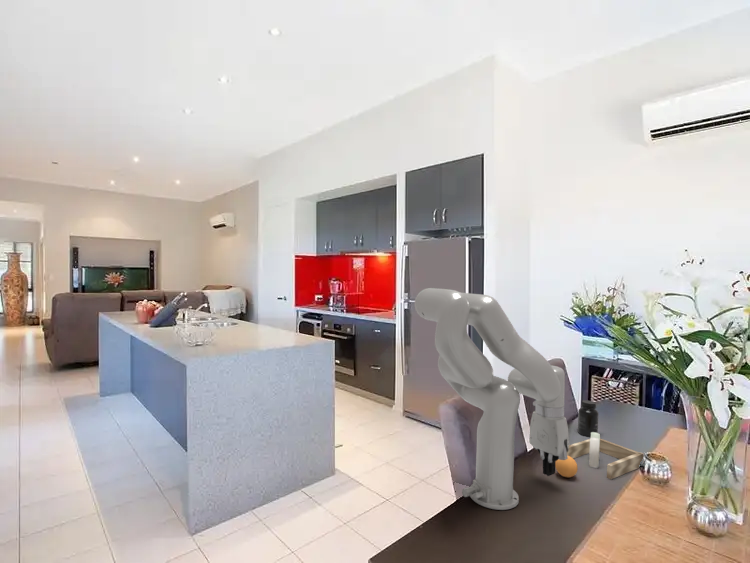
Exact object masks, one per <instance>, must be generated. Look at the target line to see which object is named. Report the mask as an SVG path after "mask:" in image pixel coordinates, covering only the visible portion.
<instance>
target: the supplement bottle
mask: <svg viewBox="0 0 750 563" xmlns="http://www.w3.org/2000/svg"><path fill="white" fill-rule="evenodd" d="M580 406H581V407H580V408H579V409H578V410H577V411H578V412H577V414H578V416H577V419H578V420H577V433H578V434H580V435H581V434H582V436H584V437H590V438H591V432H596V433H599V417H600V416H599V415H600V414H599V411H598V410H597V402H595V401H593V400H587V399H586V400H582V401H581V405H580Z"/></svg>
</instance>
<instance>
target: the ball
mask: <svg viewBox="0 0 750 563" xmlns="http://www.w3.org/2000/svg"><path fill="white" fill-rule="evenodd" d="M567 457H568V459H566V460H559V459H558V460H557V461H556V466H555V471H556V472H557V473H558V474H559V475H561V476H562V477H564V478H572V477H574V476H576V475H577V472H578V470H579V469H578V464H577V461H576V460H575V458H572V457H570V456H567Z"/></svg>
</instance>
